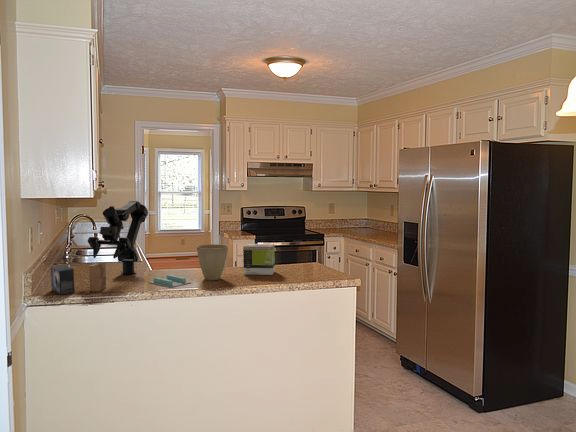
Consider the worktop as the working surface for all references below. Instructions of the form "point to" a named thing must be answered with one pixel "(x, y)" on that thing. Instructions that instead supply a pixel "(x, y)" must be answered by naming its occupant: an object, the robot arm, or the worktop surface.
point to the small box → (62, 279)
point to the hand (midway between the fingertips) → (103, 257)
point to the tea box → (259, 259)
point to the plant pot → (212, 260)
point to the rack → (170, 281)
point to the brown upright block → (97, 276)
